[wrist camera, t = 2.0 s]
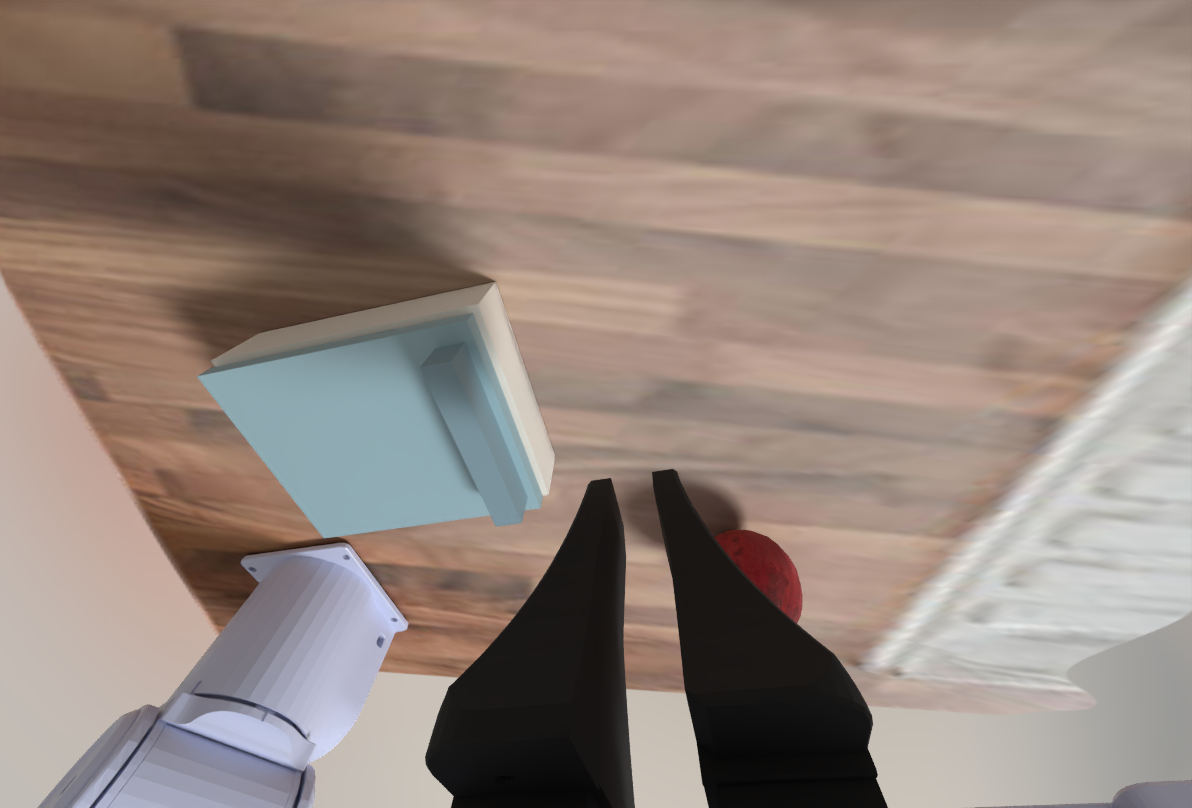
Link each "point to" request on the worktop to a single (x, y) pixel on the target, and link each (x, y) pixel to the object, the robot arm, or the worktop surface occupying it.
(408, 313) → the box
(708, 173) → the worktop surface
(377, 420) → the lid
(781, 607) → the onion
